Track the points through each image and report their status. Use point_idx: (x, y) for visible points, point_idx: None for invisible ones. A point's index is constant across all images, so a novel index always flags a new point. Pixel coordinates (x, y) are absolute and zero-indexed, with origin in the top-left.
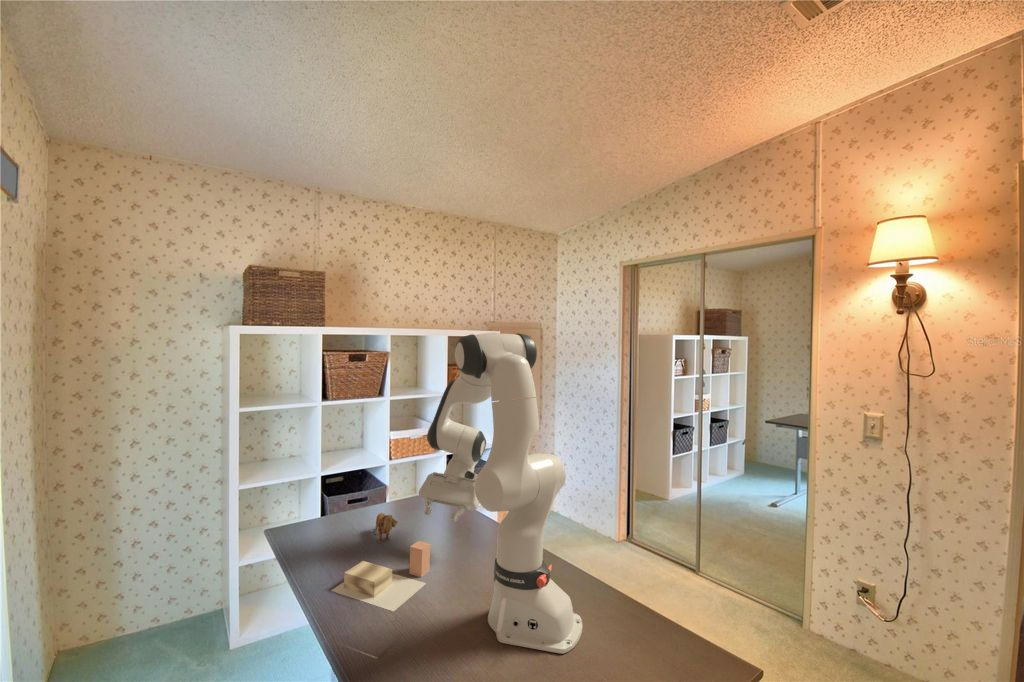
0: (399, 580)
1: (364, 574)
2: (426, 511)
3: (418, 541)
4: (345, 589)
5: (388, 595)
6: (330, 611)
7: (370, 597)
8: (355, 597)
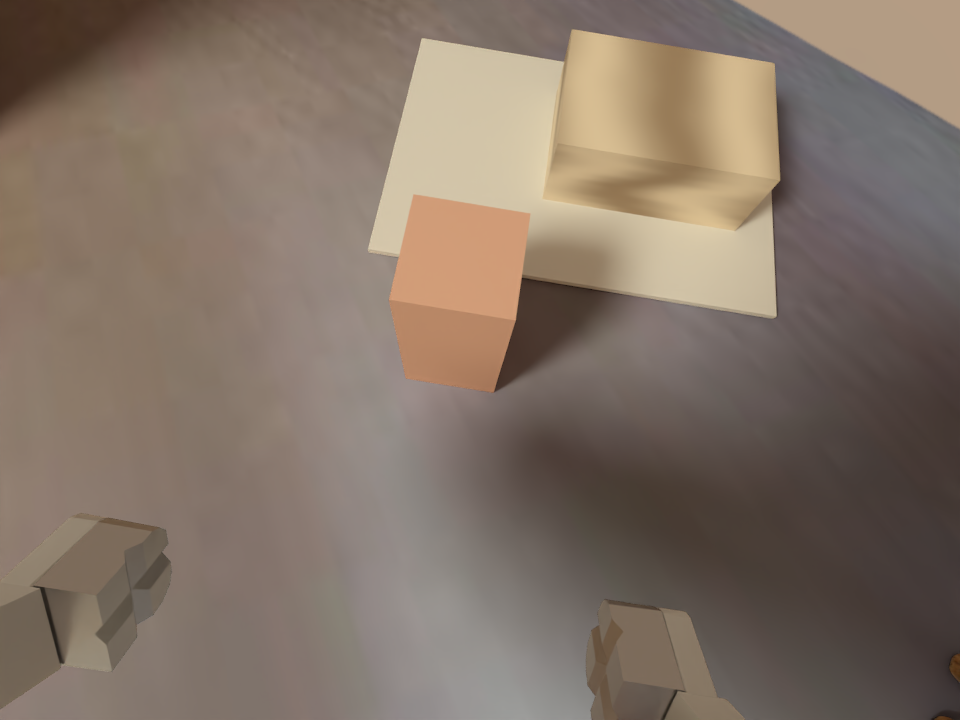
0: None
1: (666, 71)
2: (649, 615)
3: (510, 309)
4: None
5: (504, 120)
6: (662, 6)
7: None
8: None
